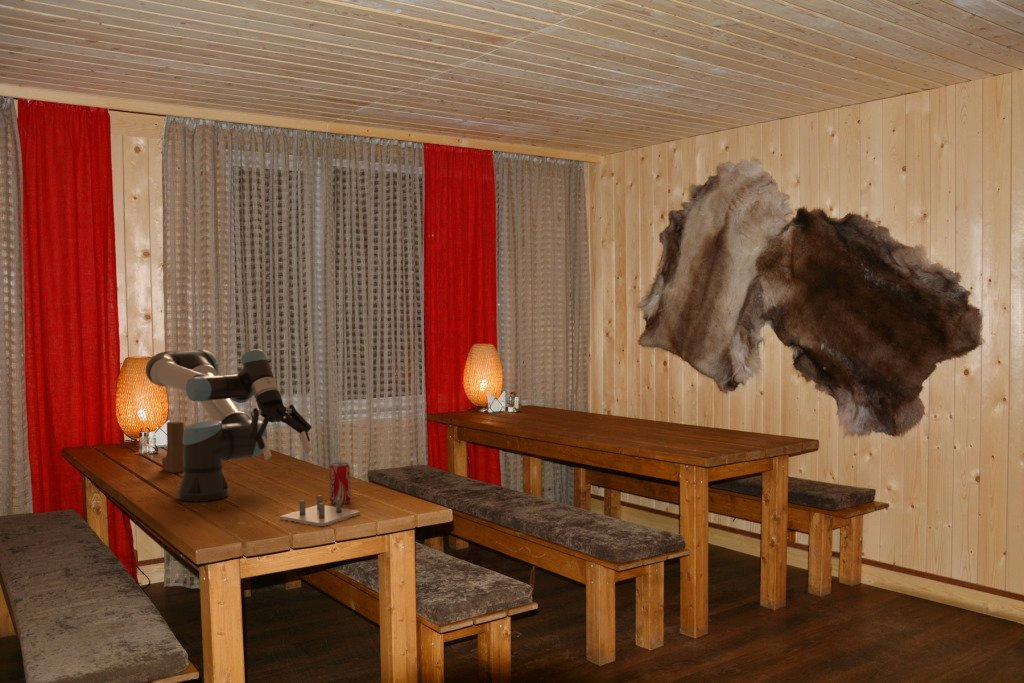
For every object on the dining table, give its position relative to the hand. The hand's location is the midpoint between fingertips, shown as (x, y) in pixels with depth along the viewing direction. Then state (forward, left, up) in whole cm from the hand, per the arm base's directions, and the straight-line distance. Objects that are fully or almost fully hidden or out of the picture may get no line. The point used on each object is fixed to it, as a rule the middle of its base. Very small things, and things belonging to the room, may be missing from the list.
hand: (289, 454), depth 259 cm
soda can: (+8, +13, -16) cm, 22 cm away
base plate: (+19, -1, -15) cm, 25 cm away
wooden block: (-76, -2, -16) cm, 77 cm away
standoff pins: (+19, -1, -15) cm, 25 cm away
